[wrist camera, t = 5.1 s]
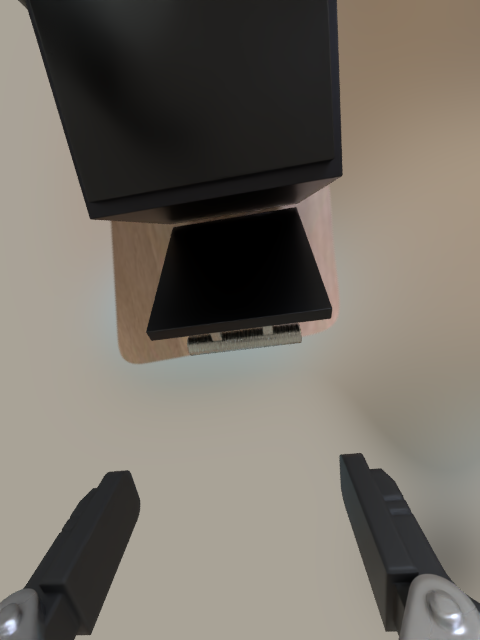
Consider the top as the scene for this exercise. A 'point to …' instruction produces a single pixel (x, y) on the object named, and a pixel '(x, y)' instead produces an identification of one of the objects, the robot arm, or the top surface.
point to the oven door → (238, 284)
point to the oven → (194, 102)
